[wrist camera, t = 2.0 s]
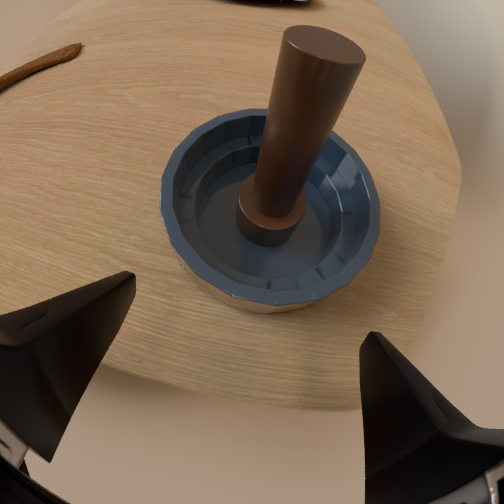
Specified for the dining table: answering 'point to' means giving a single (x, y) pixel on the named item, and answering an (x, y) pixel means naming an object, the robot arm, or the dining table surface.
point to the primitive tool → (40, 64)
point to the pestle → (296, 129)
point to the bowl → (254, 255)
